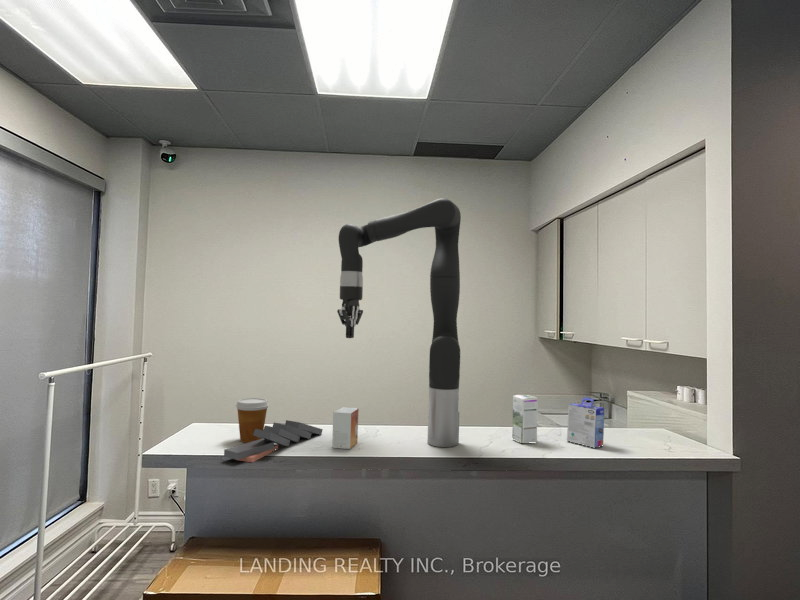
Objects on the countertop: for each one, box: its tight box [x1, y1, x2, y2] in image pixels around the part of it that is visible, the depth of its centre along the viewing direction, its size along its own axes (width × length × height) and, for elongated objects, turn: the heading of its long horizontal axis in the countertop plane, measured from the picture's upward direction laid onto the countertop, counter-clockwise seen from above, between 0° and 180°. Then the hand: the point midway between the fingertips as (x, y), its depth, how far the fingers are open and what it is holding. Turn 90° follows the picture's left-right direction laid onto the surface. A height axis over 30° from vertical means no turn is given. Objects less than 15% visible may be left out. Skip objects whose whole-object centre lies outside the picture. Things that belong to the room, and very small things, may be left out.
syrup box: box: [512, 394, 538, 444], centre depth 157 cm, size 6×6×14 cm
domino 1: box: [223, 439, 275, 461], centre depth 133 cm, size 2×5×13 cm
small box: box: [331, 406, 360, 450], centre depth 146 cm, size 8×6×10 cm
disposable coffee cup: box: [235, 397, 270, 444], centre depth 148 cm, size 10×10×12 cm
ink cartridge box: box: [566, 396, 605, 448], centre depth 156 cm, size 10×6×14 cm, turn 39°
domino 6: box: [284, 419, 323, 436], centre depth 153 cm, size 2×5×13 cm
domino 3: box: [237, 443, 279, 463], centre depth 135 cm, size 2×5×13 cm
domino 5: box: [272, 422, 312, 440], centre depth 148 cm, size 2×5×13 cm
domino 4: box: [263, 425, 301, 443], centre depth 143 cm, size 2×5×13 cm
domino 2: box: [253, 429, 291, 447], centre depth 138 cm, size 2×5×13 cm
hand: (349, 337), depth 162 cm, fingers closed
